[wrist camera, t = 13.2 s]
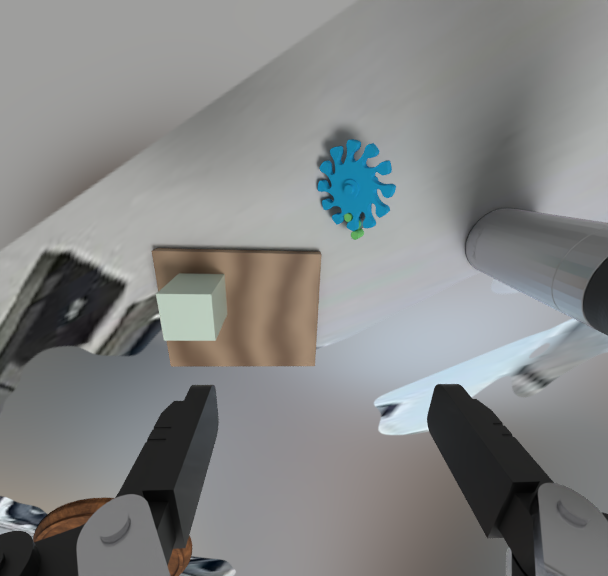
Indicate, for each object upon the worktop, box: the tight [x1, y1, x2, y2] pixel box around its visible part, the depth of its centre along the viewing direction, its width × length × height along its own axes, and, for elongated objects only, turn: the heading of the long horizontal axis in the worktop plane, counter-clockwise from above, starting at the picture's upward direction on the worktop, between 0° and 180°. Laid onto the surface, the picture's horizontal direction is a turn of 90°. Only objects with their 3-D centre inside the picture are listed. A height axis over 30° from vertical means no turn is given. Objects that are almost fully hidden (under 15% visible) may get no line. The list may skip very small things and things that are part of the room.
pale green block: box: [156, 273, 227, 341], centre depth 36 cm, size 6×6×7 cm
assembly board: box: [152, 248, 321, 366], centre depth 39 cm, size 22×18×6 cm
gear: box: [318, 139, 396, 240], centre depth 34 cm, size 11×6×10 cm
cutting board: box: [33, 498, 192, 576], centre depth 61 cm, size 32×32×3 cm
